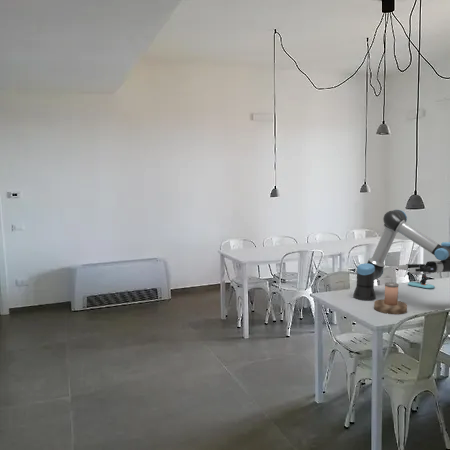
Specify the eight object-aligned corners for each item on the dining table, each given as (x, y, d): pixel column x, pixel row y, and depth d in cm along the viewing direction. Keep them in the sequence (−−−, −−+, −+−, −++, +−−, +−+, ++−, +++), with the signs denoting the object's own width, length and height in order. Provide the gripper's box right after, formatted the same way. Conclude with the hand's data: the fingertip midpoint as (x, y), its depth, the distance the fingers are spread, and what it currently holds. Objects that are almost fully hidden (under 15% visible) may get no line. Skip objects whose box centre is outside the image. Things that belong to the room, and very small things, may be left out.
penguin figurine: (436, 288, 369) (437, 268, 367) (430, 290, 362) (431, 270, 360) (411, 283, 384) (412, 264, 382) (405, 285, 377) (406, 266, 375)
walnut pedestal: (374, 312, 303) (374, 306, 303) (373, 304, 323) (374, 298, 322) (408, 315, 298) (408, 309, 298) (405, 306, 317) (405, 300, 317)
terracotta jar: (381, 302, 313) (382, 282, 311) (392, 301, 315) (393, 282, 313) (388, 305, 305) (389, 285, 303) (400, 305, 307) (401, 285, 305)
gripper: (446, 275, 302) (415, 277, 298) (422, 269, 327) (394, 271, 323) (446, 263, 302) (415, 265, 298) (422, 258, 326) (393, 260, 322)
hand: (404, 268), depth 310 cm, fingers open, 13 cm apart
